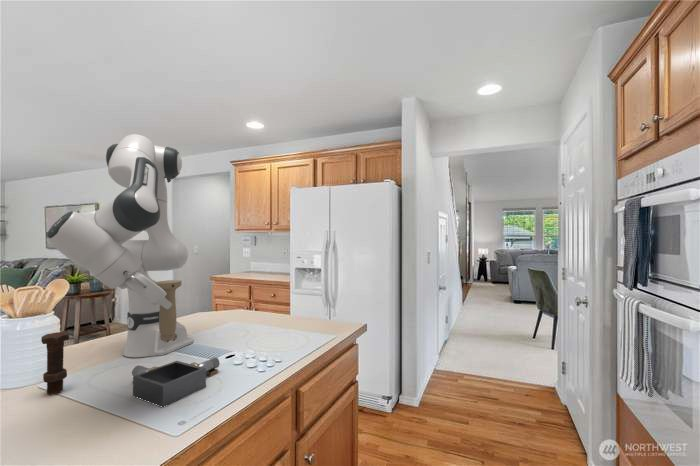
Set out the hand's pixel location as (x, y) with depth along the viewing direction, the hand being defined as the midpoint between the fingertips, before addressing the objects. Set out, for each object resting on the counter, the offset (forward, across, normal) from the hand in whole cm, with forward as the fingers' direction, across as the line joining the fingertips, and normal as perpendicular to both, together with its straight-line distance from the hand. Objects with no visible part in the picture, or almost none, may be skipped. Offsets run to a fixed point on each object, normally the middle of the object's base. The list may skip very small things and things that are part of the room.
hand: (166, 304), depth 86 cm
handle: (+7, 0, +6) cm, 9 cm away
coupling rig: (+18, +5, +14) cm, 24 cm away
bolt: (+1, +19, +31) cm, 37 cm away
